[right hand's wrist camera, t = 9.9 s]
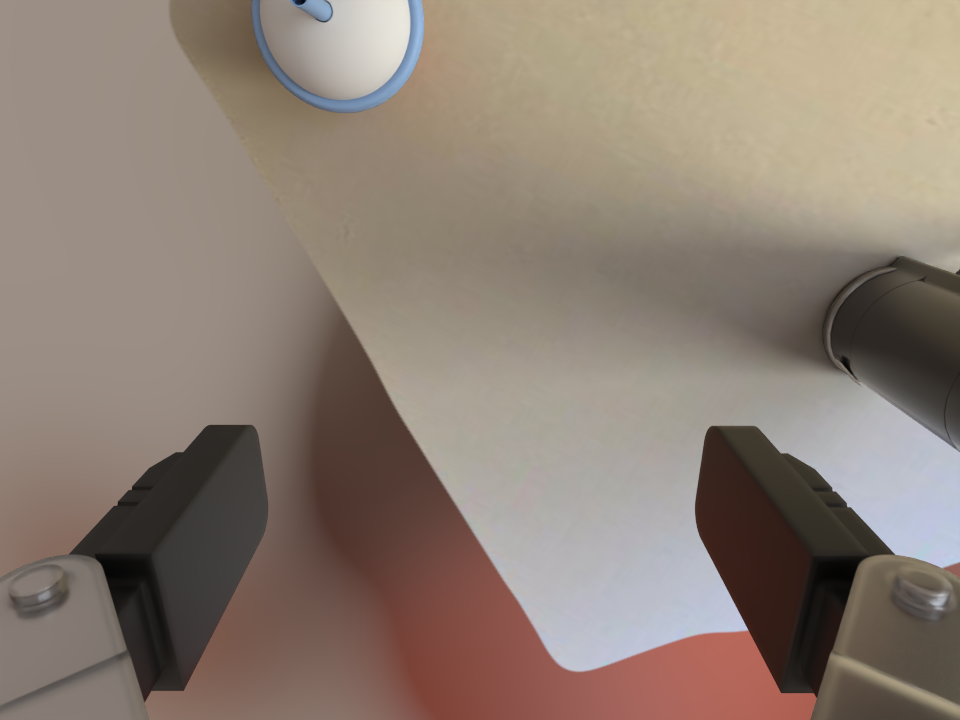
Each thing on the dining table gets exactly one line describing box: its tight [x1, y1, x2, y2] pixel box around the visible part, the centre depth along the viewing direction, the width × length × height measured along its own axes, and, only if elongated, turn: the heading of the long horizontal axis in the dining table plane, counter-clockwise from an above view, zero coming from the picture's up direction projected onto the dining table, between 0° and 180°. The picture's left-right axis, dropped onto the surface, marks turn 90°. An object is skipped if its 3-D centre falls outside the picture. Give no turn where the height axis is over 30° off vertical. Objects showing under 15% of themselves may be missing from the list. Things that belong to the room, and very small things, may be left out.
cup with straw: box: [251, 0, 424, 113], centre depth 34 cm, size 9×9×18 cm
